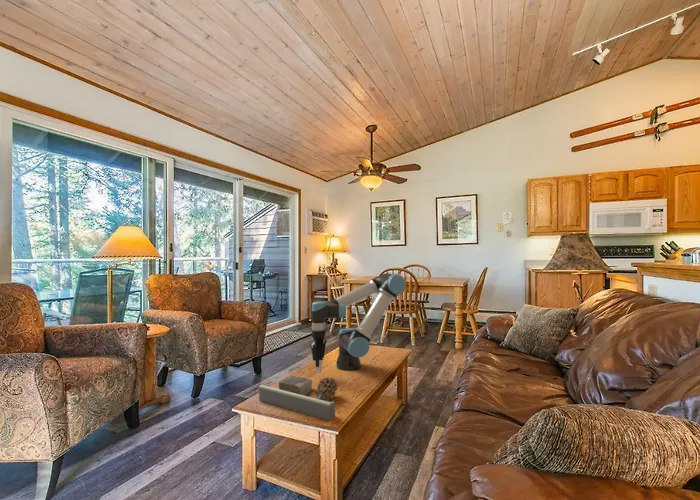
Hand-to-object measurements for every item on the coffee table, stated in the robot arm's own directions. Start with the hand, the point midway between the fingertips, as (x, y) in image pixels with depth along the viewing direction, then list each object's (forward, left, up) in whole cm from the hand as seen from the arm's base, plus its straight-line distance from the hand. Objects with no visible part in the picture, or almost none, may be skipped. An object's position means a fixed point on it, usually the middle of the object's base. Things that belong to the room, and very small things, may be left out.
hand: (318, 372), depth 183 cm
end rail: (+34, +11, -4) cm, 36 cm away
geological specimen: (+19, 0, -4) cm, 19 cm away
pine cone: (+24, +19, -4) cm, 31 cm away
